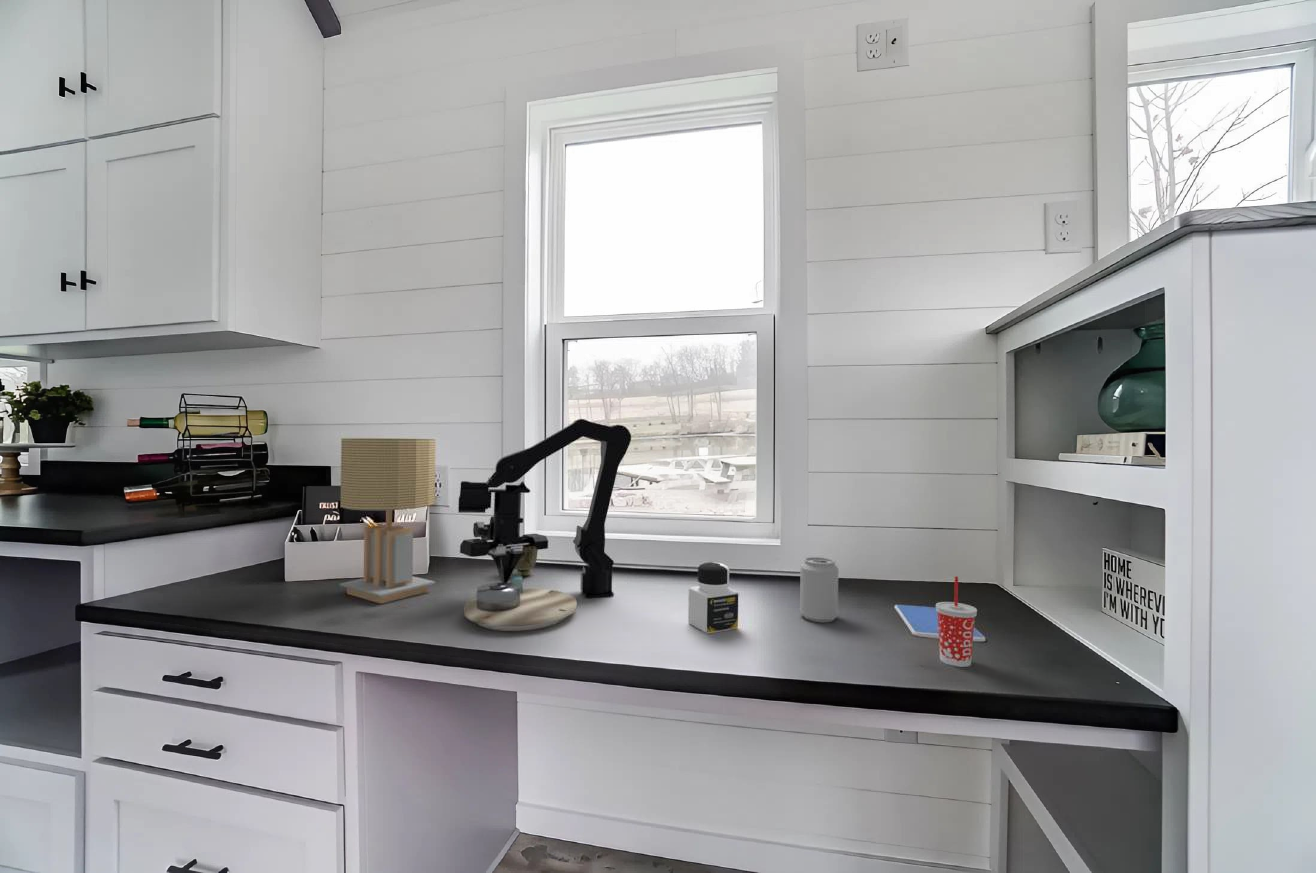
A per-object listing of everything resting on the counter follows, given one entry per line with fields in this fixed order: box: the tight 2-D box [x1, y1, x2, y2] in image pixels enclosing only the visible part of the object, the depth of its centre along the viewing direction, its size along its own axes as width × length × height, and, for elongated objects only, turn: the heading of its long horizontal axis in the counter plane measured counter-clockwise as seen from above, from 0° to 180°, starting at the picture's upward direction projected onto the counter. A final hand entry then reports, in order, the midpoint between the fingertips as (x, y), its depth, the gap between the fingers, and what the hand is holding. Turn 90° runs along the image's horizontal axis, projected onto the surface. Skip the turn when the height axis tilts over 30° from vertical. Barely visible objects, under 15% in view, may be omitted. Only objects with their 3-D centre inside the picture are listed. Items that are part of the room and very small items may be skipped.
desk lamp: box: [339, 437, 436, 604], centre depth 130 cm, size 20×20×35 cm
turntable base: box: [476, 617, 566, 632], centre depth 115 cm, size 18×18×1 cm
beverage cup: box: [935, 576, 978, 668], centre depth 94 cm, size 6×6×14 cm
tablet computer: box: [894, 604, 986, 643], centre depth 114 cm, size 19×13×1 cm, turn 168°
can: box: [799, 556, 839, 623], centre depth 116 cm, size 8×8×12 cm
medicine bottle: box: [687, 561, 739, 635], centre depth 110 cm, size 7×7×12 cm
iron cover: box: [476, 582, 520, 612], centre depth 114 cm, size 8×8×4 cm
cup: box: [514, 546, 539, 577], centre depth 148 cm, size 8×7×8 cm
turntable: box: [463, 572, 578, 626], centre depth 115 cm, size 22×22×4 cm
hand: (504, 583), depth 126 cm, fingers closed
